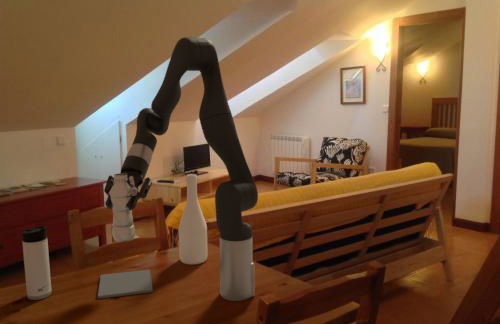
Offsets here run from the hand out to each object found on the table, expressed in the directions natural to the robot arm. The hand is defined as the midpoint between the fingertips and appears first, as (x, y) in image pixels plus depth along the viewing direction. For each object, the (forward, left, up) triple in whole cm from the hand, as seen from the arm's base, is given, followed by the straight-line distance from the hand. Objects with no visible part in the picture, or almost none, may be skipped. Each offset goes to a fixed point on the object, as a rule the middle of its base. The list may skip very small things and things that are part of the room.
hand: (119, 208), depth 124 cm
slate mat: (-1, -1, -24) cm, 24 cm away
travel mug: (+23, -1, -24) cm, 33 cm away
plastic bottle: (-1, -2, -11) cm, 11 cm away
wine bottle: (-23, -15, -24) cm, 37 cm away
